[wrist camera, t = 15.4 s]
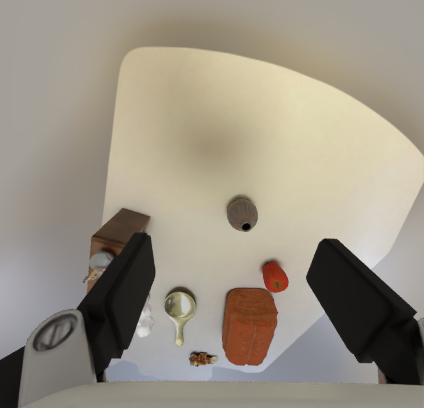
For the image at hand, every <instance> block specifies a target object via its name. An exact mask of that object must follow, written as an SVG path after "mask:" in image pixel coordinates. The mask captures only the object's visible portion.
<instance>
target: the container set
mask: <svg viewBox="0 0 424 408" xmlns="http://www.w3.org/2000/svg"><path fill="white" fill-rule="evenodd" d="M148 302H149V295H148V297H147V300H146V303H145V305H144V308H143V311H142V313H141V316H140V319H139V321H138V324H137V334H138V336H140V338H143V337H145V336H147V335H148V334H149V333H150V331H151V328H152V325H153V323H154V320H153V319H152V318H151V317H148V315H149V314H150V312H151V306H150V305H149V304H148Z"/></svg>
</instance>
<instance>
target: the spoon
mask: <svg viewBox="0 0 424 408" xmlns="http://www.w3.org/2000/svg"><path fill="white" fill-rule="evenodd" d="M164 310H165V313H166V314H167V316H168V317H170V318H171V320H172V321H173V322H174V324H175V325H176V330H177V333H176V341H175V342H176V345H177V346H179V347H180V346H182V345H183V335H182V329H183V326H184V324H185V323H186V322H187V321H188V320H189V319H190V318H192V317H193V315H194V314H195V310H196V303H195V301H194V299H193V298H192V297H191V296H190V295H188V294H187V293H184V292H174V293H171V294H170V295H169V296H168V297H167V298H166V300H165V302H164Z"/></svg>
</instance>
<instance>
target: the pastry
mask: <svg viewBox="0 0 424 408" xmlns="http://www.w3.org/2000/svg"><path fill="white" fill-rule="evenodd" d="M206 356H207V352H206V353H200V355H199V356H196V354H193V355H192V356H190V359H189V360H190V364H191V365H192V366H195V367H196V366H197V367H198V366H199V365H206V364H207V363H208V364H213V363H214V362H216V361H217V359H218V357H217V356H215V357H212V358H210V357H206Z"/></svg>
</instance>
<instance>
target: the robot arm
mask: <svg viewBox="0 0 424 408" xmlns="http://www.w3.org/2000/svg"><path fill="white" fill-rule="evenodd" d="M154 278H155V264H154V257H153V250H152V243H151V237H150V235H147V233H145V232H135V233H134V234H133V235H132V237H131V238H130V240H129V241H128V242H127V244H126V245H125V247H124V248H123V249H122V251H121V252H120V254H119V255H118V256H117V257H115V258H114V259H113V260H112V261H111V262H110V264H109V265H108V266H107V268H106V269H105V271H104V272H103V273H102V275H101V276H100V277H99V279H98V280H97V281H96V283H95V284H94V286H93V287H92V288H91V290H90V291H89V292H88V294H87V295H86V296H85V298H84V299H83V300H82V302H81V303H80V305H79V306H78V307H77V309H68V310H63V311H60V312H58V313H56V314H54V315H52V316H50V317H49V318H47V319H46V320H44V321H43V322H42V323H41V324H39V325H38V327H37V328H36V329H35V330H34V331H33V332H32V333H31V335H30V336H29V338H28V339H27V342H26V345H25V346H24V347H22V348H20V349H18V350H17V351H15V352H13V353H11V354H10V355H8V356H6V357H5V358H3V359H1V360H0V408H424V318H421V319H419V320H418V321H417V320H416V319H414V318H413V316H414V315H415V314H416V313H417V312H416V311H415V310H414V309H413V308H412V307H411V306H410V305H409V304H408V303H407V302H405V301H404V300H403V299H402V298H401V297H400V296H399V295H398V294H397V293H396V292H394V291H393V290H392V289H391V288H390V287H389V286H388V285H387V284H386V283H385V282H384V281H382V280H381V279H380V278H379V277H378V276H377V275H376V274H375V273H374V272H372V271H371V270H370V269H369V268H368V267H367V266H366V265H365V264H364V263H363V262H362V261H361V260H359V259H358V258H357V257H356V256H355V255H354V254H353V253H352V252H351V251H350V250H348V249H347V248H346V247H345V246H344V245H343V244H342V243H341V242H340V241H339V240H337V239H326V238H325V239H323V240H322V241H320V243H319V245H318V247H317V250H316V252H315V255H314V258H313V260H312V263H311V265H310V268H309V270H308V273H307V276H306V280H307V282H308V284H309V286H310V288H311V289H312V291H313V292H314V294H315V296H316V297H317V299H318V301H319V302H320V304H321V306H322V307H323V309H324V311H325V312H326V314H327V316H328V317H329V319H330V320H331V322H332V324H333V325H334V327H335V329H336V330H337V332H338V334H339V335H340V337H341V338H342V340H343V342H344V343H345V345H346V347H347V348H348V350H349V351H350V352H351V353H352V354H354V356H355V357H356V359H357V361H358V362H359V363H372V362H373V361H374V362H375V363H376V365H377V366H378V378H379V379H378V380H379V384H356V383H308V382H246V381H118V382H108V378H107V373H106V368H107V367H108V366H109V363H110V361H111V359H112V358H120V359H121V356H122V354H123V351H124V350H126V349H128V347H129V345H130V343H131V340H132V338H133V335H134V332H135V329H136V327H137V324H138V321H139V319H140V316H141V313H142V311H143V308H144V305H145V303H146V300H147V297H148V295H149V292H150V289H151V286H152V284H153V281H154Z"/></svg>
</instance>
